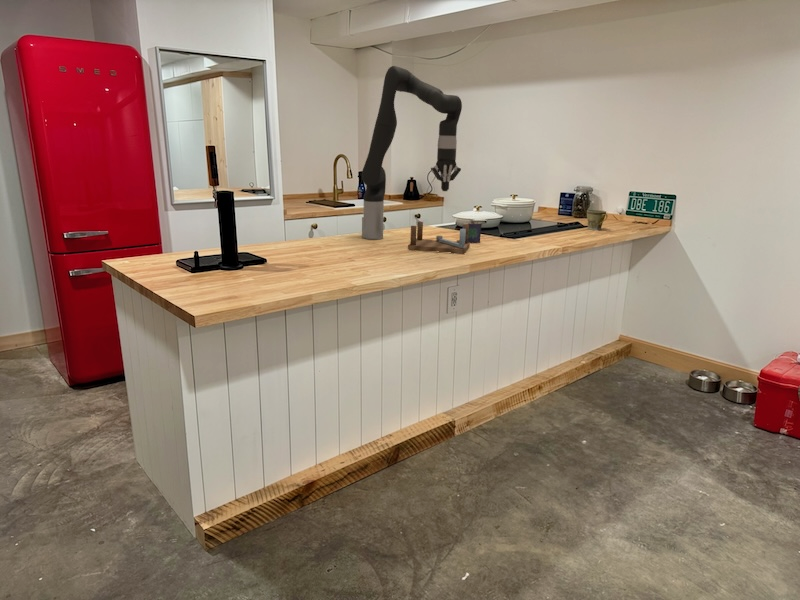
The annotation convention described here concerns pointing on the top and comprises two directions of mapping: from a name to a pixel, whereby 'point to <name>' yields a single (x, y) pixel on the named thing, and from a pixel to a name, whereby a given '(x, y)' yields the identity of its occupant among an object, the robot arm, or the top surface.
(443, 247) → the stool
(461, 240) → the cylinder
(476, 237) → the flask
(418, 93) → the robot arm
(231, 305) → the top surface
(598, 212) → the ceramic cup
